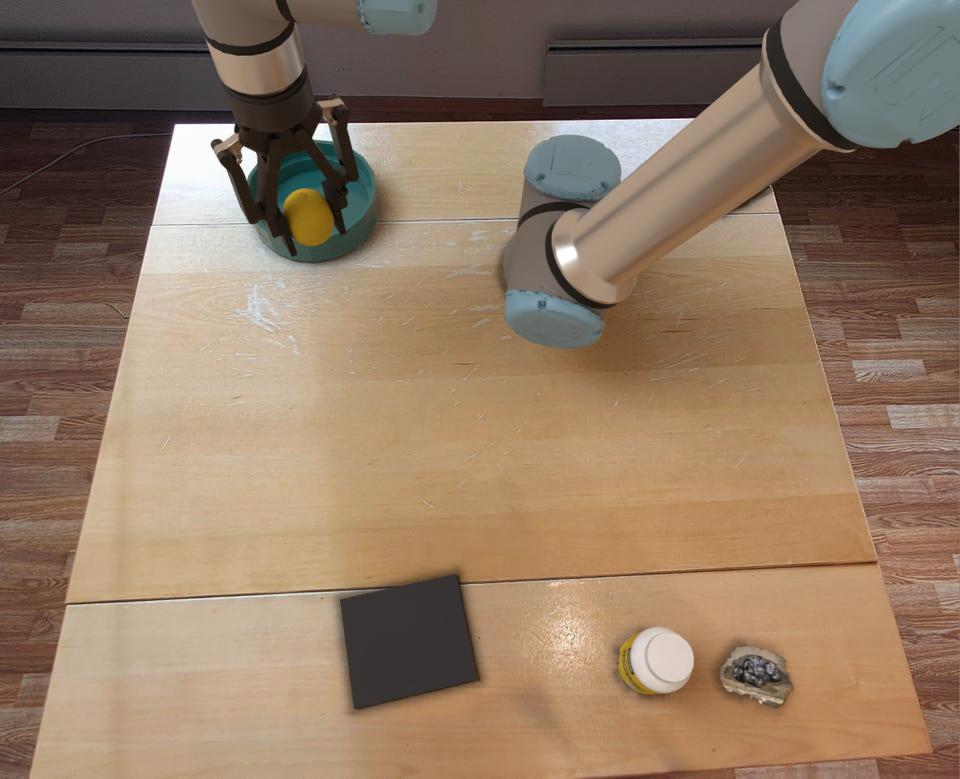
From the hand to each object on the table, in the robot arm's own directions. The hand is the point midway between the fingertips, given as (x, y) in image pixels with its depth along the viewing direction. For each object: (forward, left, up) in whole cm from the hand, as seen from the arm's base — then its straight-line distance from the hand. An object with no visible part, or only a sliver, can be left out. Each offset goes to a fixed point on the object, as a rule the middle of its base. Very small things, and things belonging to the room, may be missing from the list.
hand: (314, 236), depth 81 cm
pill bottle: (-28, +53, -19) cm, 63 cm away
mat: (-2, +44, -19) cm, 48 cm away
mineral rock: (-40, +57, -19) cm, 72 cm away
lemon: (0, 0, -1) cm, 1 cm away
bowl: (+1, -20, -19) cm, 27 cm away
